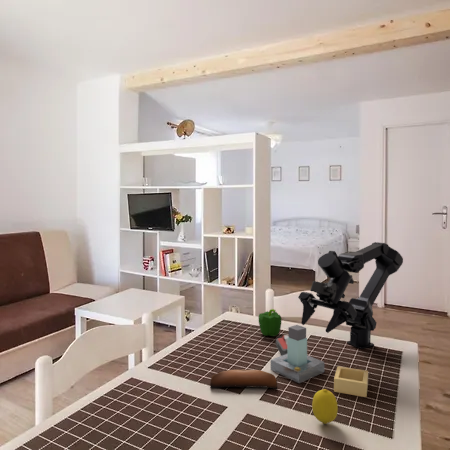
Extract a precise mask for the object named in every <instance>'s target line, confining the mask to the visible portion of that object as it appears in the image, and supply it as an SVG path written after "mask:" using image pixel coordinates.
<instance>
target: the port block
mask: <svg viewBox="0 0 450 450" xmlns="http://www.w3.org/2000/svg"><path fill="white" fill-rule="evenodd" d="M270 371H272V372H275V373H277V374H279V375H281V376H283V377H285V378H287V379H289V380H292V382H293V381H294V382H295V383H298V384H301V383H303V382H305V381H307V380H310V379H313V378H314V377H317V376H318V375H320V374H321V375H322V374H323V373H325V361H323V360H321V359H318V358H315V357H313V356H310V355H308V354H307V364H305V365H302V366H300V367H297V366H294V365H292V364H290V363H288V362H287V354H285V355H282V356H281V355H279V356H277V357H274V358H272V359H270Z"/></svg>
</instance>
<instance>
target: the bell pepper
mask: <svg viewBox="0 0 450 450" xmlns="http://www.w3.org/2000/svg"><path fill="white" fill-rule="evenodd" d="M258 325H259V329H260V332H261V334H262V335H263V336H265V337H266V336H267V337H268V336H271V337H276V336H278V335H279V334H280V332H281V331H280V330H281V328H282V317H281V315H280V314H279V313H278V312H277V311H276V309H273V308H271V309H270V310H269V311H268V310H267V311H265V312H261V313H260V312H259V314H258Z"/></svg>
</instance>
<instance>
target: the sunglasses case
mask: <svg viewBox="0 0 450 450" xmlns="http://www.w3.org/2000/svg"><path fill="white" fill-rule="evenodd" d="M209 387H210V389H216V388H217V389H218V388H227V387H228V388H231V387H237V388H238V387H240V388H244V387H245V388H247V387H248V388H249V387H250V388H251V387H252V388H273V389H274V388H275V389H277V390H278V381H277V378H276V376H275V375H274V374H273V373H270V372H267V371H265V370H260V369H228V370H223V371H220V372H217V373H215V374H213V375H212V376H211V378H210V384H209Z"/></svg>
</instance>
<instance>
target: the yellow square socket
mask: <svg viewBox="0 0 450 450" xmlns="http://www.w3.org/2000/svg"><path fill="white" fill-rule="evenodd" d="M368 386H369V370H364V369H359V368H352V367H346V366H338V365H337V368H336V371H335V374H334V378H333V392H335V393H339V394H346V395H352V396H356V397H362V398H363V397H364V398H367V394H368Z"/></svg>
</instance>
